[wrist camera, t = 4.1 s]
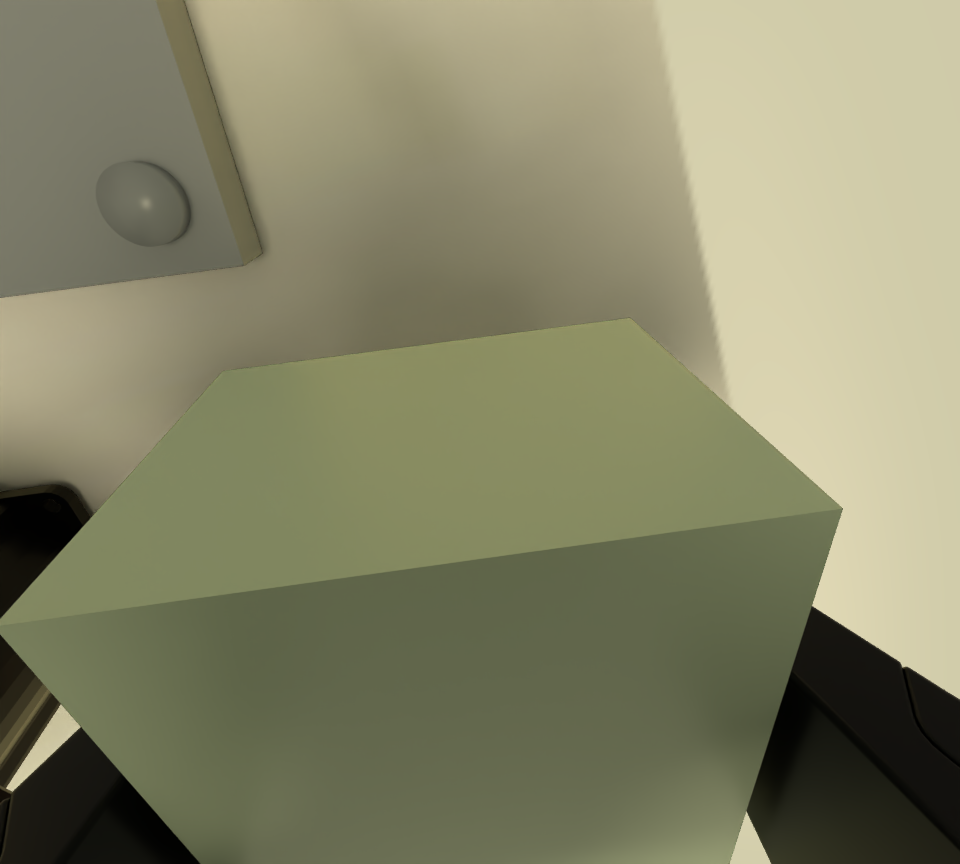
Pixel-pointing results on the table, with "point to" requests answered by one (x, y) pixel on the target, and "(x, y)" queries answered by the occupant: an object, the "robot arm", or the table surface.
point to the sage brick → (442, 608)
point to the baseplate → (111, 149)
